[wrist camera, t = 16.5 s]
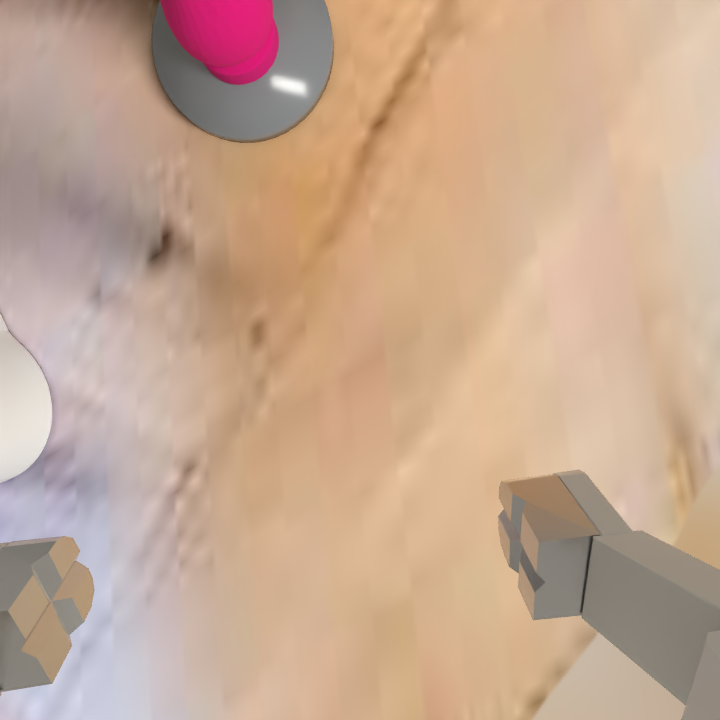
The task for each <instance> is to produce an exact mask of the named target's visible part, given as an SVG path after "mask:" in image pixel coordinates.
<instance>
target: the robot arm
mask: <svg viewBox="0 0 720 720" xmlns="http://www.w3.org/2000/svg"><path fill="white" fill-rule="evenodd" d="M51 423H52V402H51V396H50V391H49V387H48V384H47V381H46V379H45V377H44V374H43V372H42V370H41V369H40V367H39V365H38V364H37V362H36V361H35V359H34V358H33V357H32V355H31V354H30V353H29V352H28V351H27V350H26V349H25V348H24V347H23V346H22V345H21V344H20V343H19V342H18V341H17V340H16V339H15V338H14V337H13V336H12V335H11V334H10V332H9V331H8V329H7V327H6V325H5V322H4V320H3V318H2V316H1V314H0V483H2V482H4V481H7V480H9V479H12V478H14V477H16V476H17V475H19V474H21V473H22V472H23V471H25V470H26V469H27V468H28V467H30V466H31V465H32V464H33V463H34V461H35V460H36V459H37V458H38V456H39V455H40V453H41V452H42V450H43V448H44V446H45V444H46V442H47V439H48V436H49V433H50V429H51ZM499 499H500V501H501V503H502V505H503V507H504V510H503V511H502V512H501V513H500V515H499V516H498V524H499V535H500V542H501V546H502V549H503V552H504V556H505V558H506V560H507V563H508V565H509V567H510V568H512V569H513V570H515V571H516V572H517V573H519V582H518V588H519V590H520V592H521V594H522V597H523V599H524V601H525V603H526V606H527V608H528V610H529V612H530V614H531V617H532V619H533V620H540V619H550V618H559V617H569V616H579V615H582V618H583V619H584V620H585V621H586V622H587V623H588V624H590V625H591V626H592V627H593V628H594V629H596V630H597V631H598V632H599V633H600V634H601V635H603V636H604V637H605V638H606V639H607V640H609V641H610V642H611V643H612V644H613V645H615V646H616V647H617V648H618V649H619V650H620V651H622V652H623V653H624V654H625V655H627V656H628V657H629V658H630V659H631V660H632V661H633V662H635V663H636V664H637V665H638V666H640V667H641V668H642V669H643V670H644V671H645V672H647V673H648V674H649V675H650V676H651V677H652V678H654V679H655V680H656V681H657V682H658V683H660V684H661V685H662V686H663V687H664V688H666V689H667V690H668V691H669V692H670V693H671V694H673V695H674V696H675V697H676V698H677V699H679V700H680V701H681V702H682V703H683V704H685V705H686V707H685V709H684V712H683V716H682V719H681V720H720V570H719V569H717V568H715V567H713V566H711V565H709V564H707V563H705V562H703V561H701V560H699V559H697V558H695V557H693V556H691V555H689V554H687V553H685V552H683V551H681V550H679V549H677V548H675V547H673V546H671V545H669V544H667V543H665V542H663V541H661V540H659V539H657V538H655V537H653V536H651V535H649V534H647V533H645V532H643V531H632V530H631V528H630V527H629V526H628V525H627V524H626V522H625V521H624V520H623V519H622V517H621V516H620V515H619V514H618V513H617V511H616V510H615V509H614V508H613V506H612V505H611V504H610V503H609V502H608V500H607V499H606V498H605V497H604V495H603V494H602V493H601V492H600V491H599V489H598V488H597V487H596V486H595V484H594V483H593V482H592V481H591V480H590V478H589V477H588V476H587V475H586V473H585V472H583V471H581V470H574V471H567V472H561V473H554V474H553V475H543V476H535V477H528V478H520V479H513V480H505V481H501V484H500V487H499ZM79 552H80V550H79V548H78V546H77V545H76V543H75V541H74V539H73V538H71V537H66V536H62V537H52V538H42V539H32V540H23V541H13V542H10V543H0V696H1V692H3V691H10V690H16V689H22V688H28V687H34V686H40V685H47V684H52V683H53V681H54V679H55V677H56V675H57V673H58V671H59V670H60V668H61V666H62V664H63V662H64V660H65V658H66V656H67V654H68V652H69V650H70V648H71V646H72V644H71V640H70V634H71V633H72V632H73V631H74V630H75V629H77V628H78V627H79V626H80V625H81V624H82V623H83V622H84V621H85V619H86V617H87V615H88V613H89V611H90V609H91V606H92V600H93V594H94V585H93V578H92V576H91V573H90V571H89V569H88V568H87V567H85V566H84V565H82V564H81V563H79V562H77V561H76V559H77V557H78V554H79Z"/></svg>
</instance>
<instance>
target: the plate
mask: <svg viewBox="0 0 720 720" xmlns="http://www.w3.org/2000/svg"><path fill="white" fill-rule="evenodd" d="M272 2H273V18H274V21H275V23H276V26H277V30H278V34H279V48H278V52H277V56H276V59H275V61H274V63H273V65H272V66H271V68H270V69H269V70H268V72H267V73H266V74H265V75H263V76H262V77H261V78H259V79H258V80H256V81H254V82H251V83H248V84H243V85H234V84H229V83H225V82H223V81H221V80H219V79H218V78H216V77H215V76H214V75H213V74H212V73H211V72H210V71H209V70H208V69H207V68H206V66H205V65H204V64H203V62H201V61H199V60H197V59H196V58H194V57H193V56H191V55H190V54H189V53H188V52H187V51H186V50H185V49H184V48H183V47H182V46H181V45H180V43H179V42H178V41H177V39H176V37H175V36H174V34H173V32H172V31H171V29H170V27H169V25H168V23H167V21H166V18H165V15H164V12H163V9H162V5H161V2H160V1H159V4H158V7H157V10H156V13H155V17H154V23H153V30H152V52H153V57H154V63H155V67H156V70H157V74H158V77H159V79H160V81H161V84H162V86H163V88H164V90H165V91H166V93H167V95H168V96H169V98H170V99H171V101H172V102H173V103H174V104H175V106H176V107H177V108H178V109H179V110H180V111H181V112H182V113H183V114H184V115H185V116H186V117H187V118H188V119H189V120H190V121H191V122H192V123H194V124H195V125H196V126H197V127H199V128H200V129H202V130H203V131H205V132H207V133H209V134H210V135H213V136H215V137H218V138H220V139H224V140H228V141H231V142H240V143H254V142H260V141H266V140H269V139H272V138H275V137H278V136H280V135H282V134H284V133H286V132H288V131H289V130H291V129H292V128H294V127H296V126H297V125H298V124H299V123H300V122H301V121H303V120H304V119H305V118H306V117H307V116H308V115H309V113H310V112H311V111H312V110H313V109H314V107H315V106H316V104H317V103H318V102H319V100H320V98H321V96H322V94H323V92H324V91H325V88H326V86H327V83H328V80H329V77H330V73H331V69H332V64H333V55H334V41H333V33H332V27H331V22H330V17H329V13H328V10H327V6H326V4H325V1H324V0H272Z"/></svg>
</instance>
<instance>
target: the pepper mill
mask: <svg viewBox="0 0 720 720" xmlns="http://www.w3.org/2000/svg"><path fill="white" fill-rule="evenodd" d="M160 2H161V5H162V9H163V12H164V15H165V18H166V21H167V23H168V25H169V27H170V29H171V31H172V32H173V34H174V36H175V37H176V39H177V41H178V42H179V43H180V45H181V46H182V47H183V48H184V49H185V50H186V51H187V52H188V53H189V54H190V55H191V56H193V57H194V58H196V59H197V60H199V61H201V62H203V64H204V65H205V66H206V68H207V69H208V70H209V71H210V72H211V73H212V74H213V75H214V76H215V77H216V78H218V79H219V80H221V81H223V82H225V83H229V84H234V85H243V84H248V83H251V82H254V81H256V80H258V79H259V78H261V77H262V76H263V75H265V74H266V73H267V72H268V70H269V69H270V68H271V66H272V65H273V63H274V61H275V59H276V56H277V52H278V48H279V34H278V30H277V26H276V23H275V21H274V18H273V2H272V0H160Z"/></svg>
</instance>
